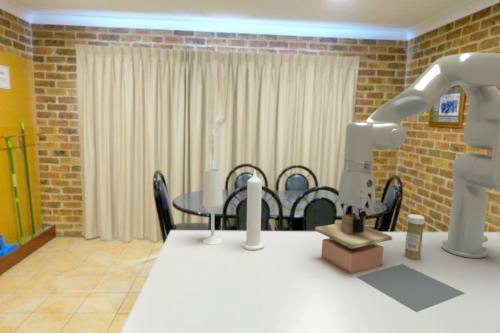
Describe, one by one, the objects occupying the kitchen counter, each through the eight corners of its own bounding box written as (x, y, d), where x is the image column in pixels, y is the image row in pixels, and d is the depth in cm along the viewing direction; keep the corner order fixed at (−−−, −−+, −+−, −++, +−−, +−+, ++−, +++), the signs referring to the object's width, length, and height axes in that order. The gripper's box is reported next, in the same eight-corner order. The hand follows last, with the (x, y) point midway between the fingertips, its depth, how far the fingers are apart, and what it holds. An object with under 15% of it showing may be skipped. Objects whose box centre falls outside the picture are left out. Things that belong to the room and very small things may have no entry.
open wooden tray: (351, 251, 110) (352, 233, 109) (381, 267, 99) (383, 247, 98) (321, 258, 104) (322, 239, 103) (350, 275, 93) (351, 254, 93)
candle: (238, 248, 110) (239, 170, 106) (247, 240, 117) (248, 167, 113) (259, 252, 108) (261, 172, 104) (267, 244, 114) (269, 169, 110)
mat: (401, 265, 100) (402, 263, 100) (464, 295, 84) (465, 293, 84) (355, 278, 92) (355, 276, 92) (416, 314, 76) (416, 312, 76)
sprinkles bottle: (423, 259, 105) (428, 216, 102) (414, 263, 102) (419, 219, 100) (409, 254, 108) (413, 212, 106) (400, 257, 106) (404, 215, 104)
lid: (352, 223, 110) (354, 205, 109) (391, 239, 97) (393, 219, 96) (315, 230, 103) (316, 210, 102) (351, 248, 90) (353, 226, 89)
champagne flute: (226, 240, 117) (227, 170, 113) (212, 246, 112) (212, 172, 108) (213, 235, 121) (213, 167, 117) (198, 240, 116) (198, 170, 112)
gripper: (391, 170, 92) (384, 237, 94) (346, 161, 106) (342, 219, 109) (370, 172, 88) (364, 241, 91) (327, 162, 102) (324, 222, 105)
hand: (352, 229), depth 100 cm, fingers closed on lid, 3 cm apart
